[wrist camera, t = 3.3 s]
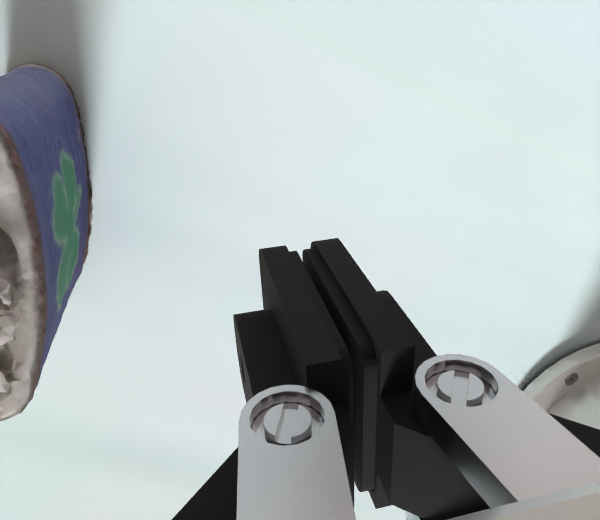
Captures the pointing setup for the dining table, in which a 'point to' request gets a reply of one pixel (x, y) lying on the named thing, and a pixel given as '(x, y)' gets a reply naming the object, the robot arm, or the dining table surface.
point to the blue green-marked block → (37, 222)
